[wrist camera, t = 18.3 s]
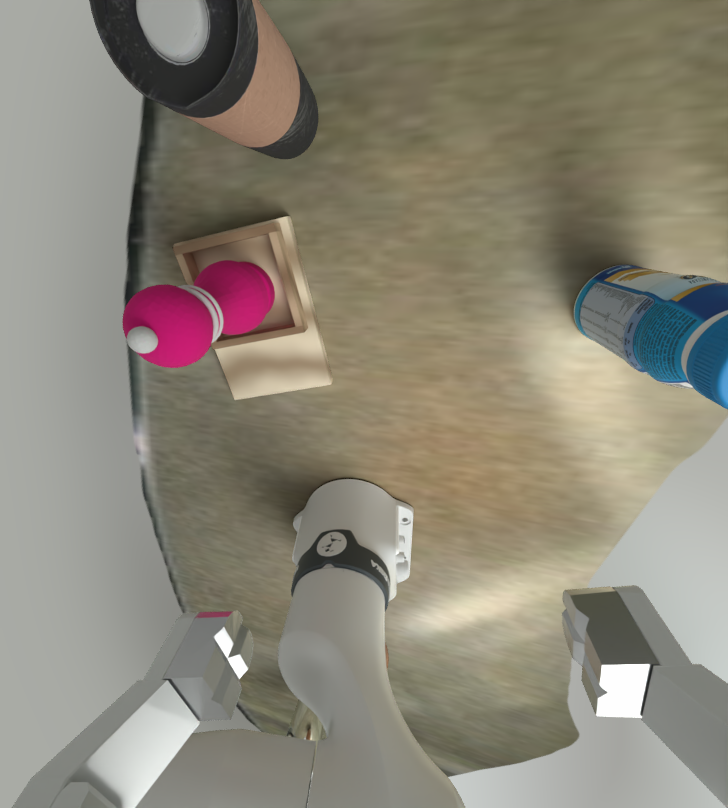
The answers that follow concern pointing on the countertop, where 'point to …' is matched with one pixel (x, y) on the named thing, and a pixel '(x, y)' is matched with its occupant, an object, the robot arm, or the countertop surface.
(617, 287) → the beverage bottle
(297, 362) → the mill holder
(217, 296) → the pepper mill
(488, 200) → the countertop surface
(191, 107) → the travel mug
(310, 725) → the beer glass
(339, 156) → the countertop surface
